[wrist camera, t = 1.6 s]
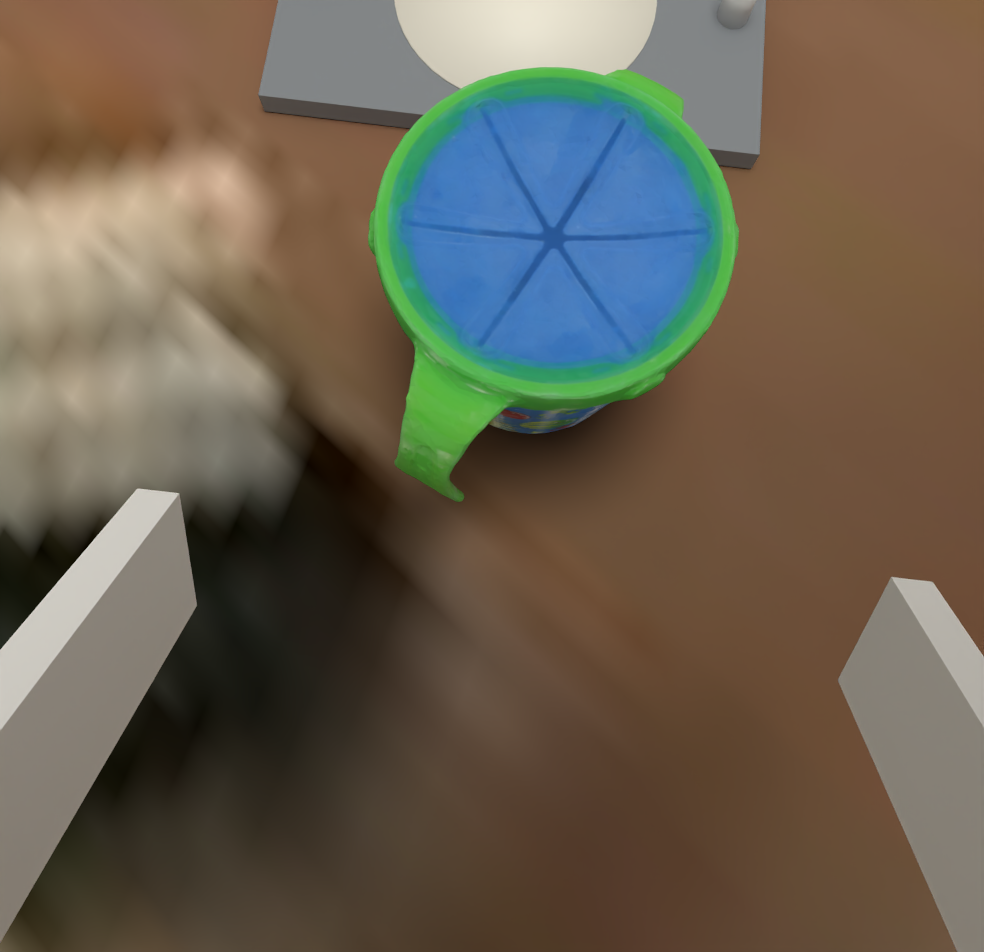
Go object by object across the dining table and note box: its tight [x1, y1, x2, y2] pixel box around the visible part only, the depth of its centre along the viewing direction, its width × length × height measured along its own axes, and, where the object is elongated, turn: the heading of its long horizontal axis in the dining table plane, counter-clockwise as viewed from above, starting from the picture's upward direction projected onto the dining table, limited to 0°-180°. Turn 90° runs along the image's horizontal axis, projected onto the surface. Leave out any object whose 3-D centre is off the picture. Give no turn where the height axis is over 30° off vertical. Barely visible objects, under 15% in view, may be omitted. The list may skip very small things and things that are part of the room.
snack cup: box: [368, 67, 739, 502], centre depth 26 cm, size 16×10×10 cm
